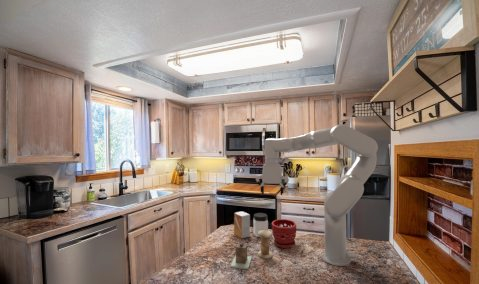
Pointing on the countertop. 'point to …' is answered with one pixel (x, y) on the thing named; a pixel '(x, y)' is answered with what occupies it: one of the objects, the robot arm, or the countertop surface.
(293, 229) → the plant pot
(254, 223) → the jar
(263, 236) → the cream drawer knob
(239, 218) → the small box
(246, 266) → the board
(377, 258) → the countertop surface
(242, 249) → the block
